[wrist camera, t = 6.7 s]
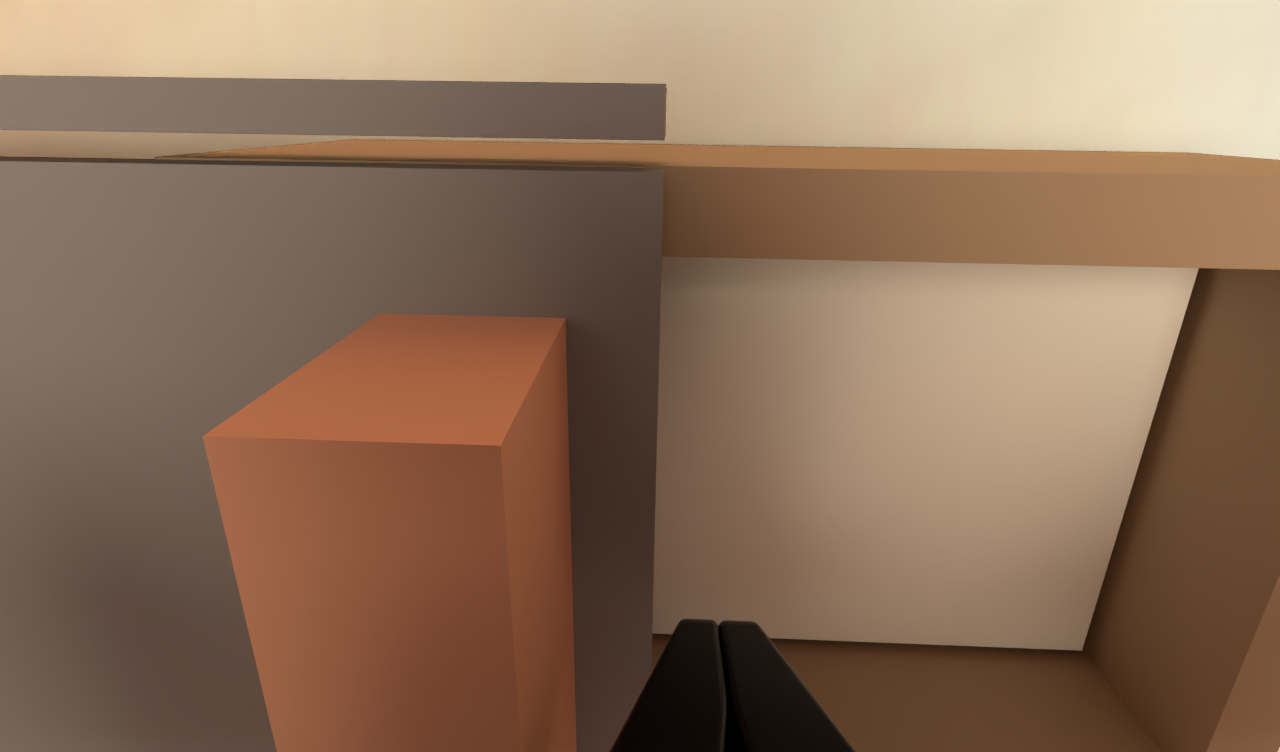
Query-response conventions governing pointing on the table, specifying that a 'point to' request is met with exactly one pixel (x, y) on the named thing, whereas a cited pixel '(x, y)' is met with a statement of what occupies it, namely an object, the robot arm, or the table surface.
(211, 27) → the table surface
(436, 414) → the lid
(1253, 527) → the base
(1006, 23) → the table surface
